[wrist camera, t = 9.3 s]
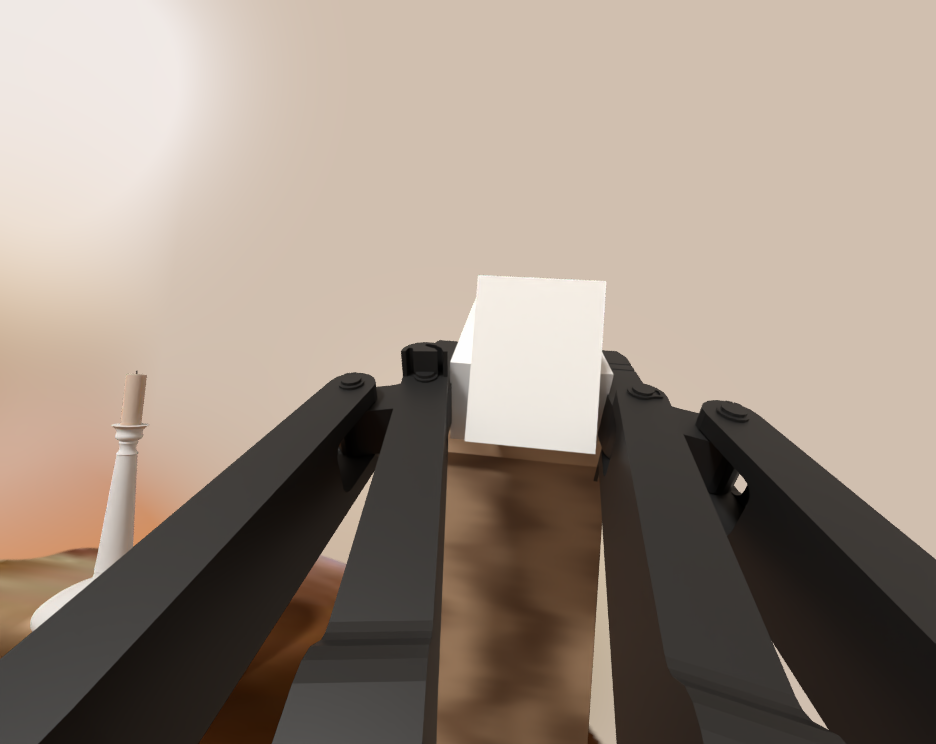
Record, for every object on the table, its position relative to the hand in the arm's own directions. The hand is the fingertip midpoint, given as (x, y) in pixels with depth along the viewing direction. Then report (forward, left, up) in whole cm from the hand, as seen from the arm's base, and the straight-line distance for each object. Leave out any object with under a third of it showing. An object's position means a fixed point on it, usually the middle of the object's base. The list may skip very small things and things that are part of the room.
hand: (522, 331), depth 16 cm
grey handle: (0, +6, -4) cm, 7 cm away
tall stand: (0, +9, -34) cm, 35 cm away
